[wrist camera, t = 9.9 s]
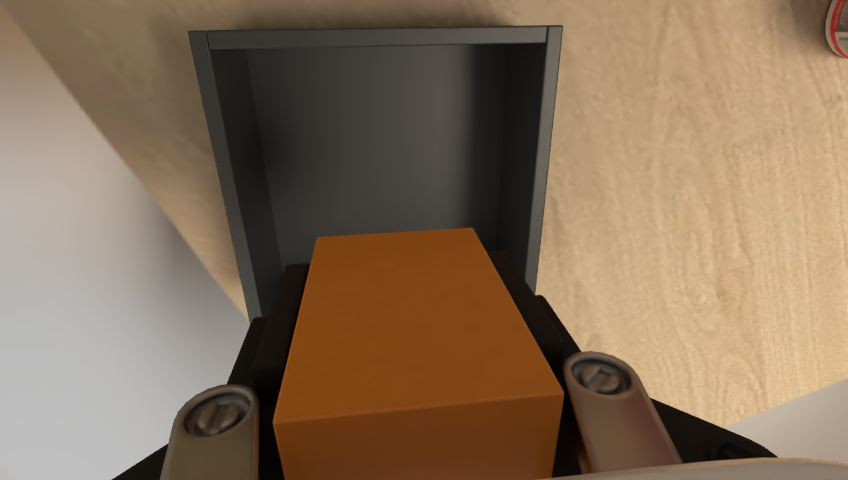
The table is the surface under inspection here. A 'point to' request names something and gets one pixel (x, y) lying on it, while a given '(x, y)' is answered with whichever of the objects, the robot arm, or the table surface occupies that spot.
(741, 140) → the table surface
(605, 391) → the robot arm
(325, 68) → the bin
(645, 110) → the table surface
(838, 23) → the pill bottle
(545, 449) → the orange block
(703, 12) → the table surface
